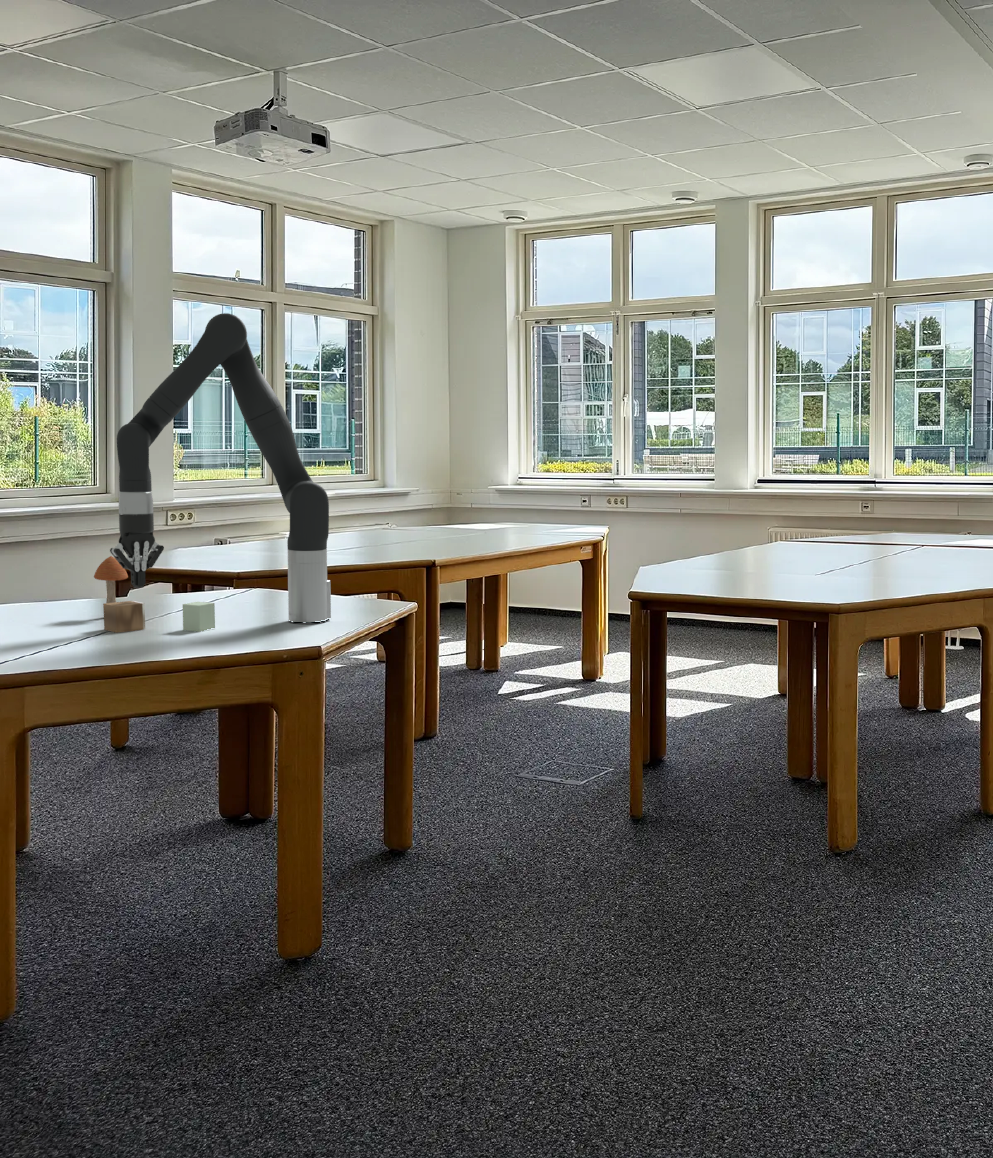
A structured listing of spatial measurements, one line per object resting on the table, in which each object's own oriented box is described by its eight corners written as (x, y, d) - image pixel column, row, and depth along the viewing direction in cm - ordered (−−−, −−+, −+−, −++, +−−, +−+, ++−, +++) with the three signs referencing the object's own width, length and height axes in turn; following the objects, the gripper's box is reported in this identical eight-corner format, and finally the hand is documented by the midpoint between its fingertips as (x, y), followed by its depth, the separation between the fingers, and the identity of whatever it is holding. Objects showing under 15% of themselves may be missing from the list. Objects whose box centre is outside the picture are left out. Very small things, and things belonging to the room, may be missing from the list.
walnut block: (132, 600, 272) (103, 603, 268) (144, 603, 268) (115, 606, 263) (133, 626, 273) (104, 629, 268) (145, 629, 269) (116, 632, 264)
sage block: (198, 627, 272) (197, 601, 272) (215, 629, 270) (214, 603, 269) (183, 630, 268) (182, 604, 267) (200, 632, 266) (199, 605, 265)
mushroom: (118, 620, 282) (117, 557, 281) (88, 619, 284) (86, 556, 282) (135, 615, 290) (133, 554, 288) (105, 614, 292) (103, 554, 290)
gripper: (153, 510, 276) (155, 583, 278) (100, 512, 266) (103, 588, 268) (170, 511, 271) (172, 586, 273) (118, 513, 261) (120, 591, 263)
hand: (138, 587), depth 270 cm, fingers closed
